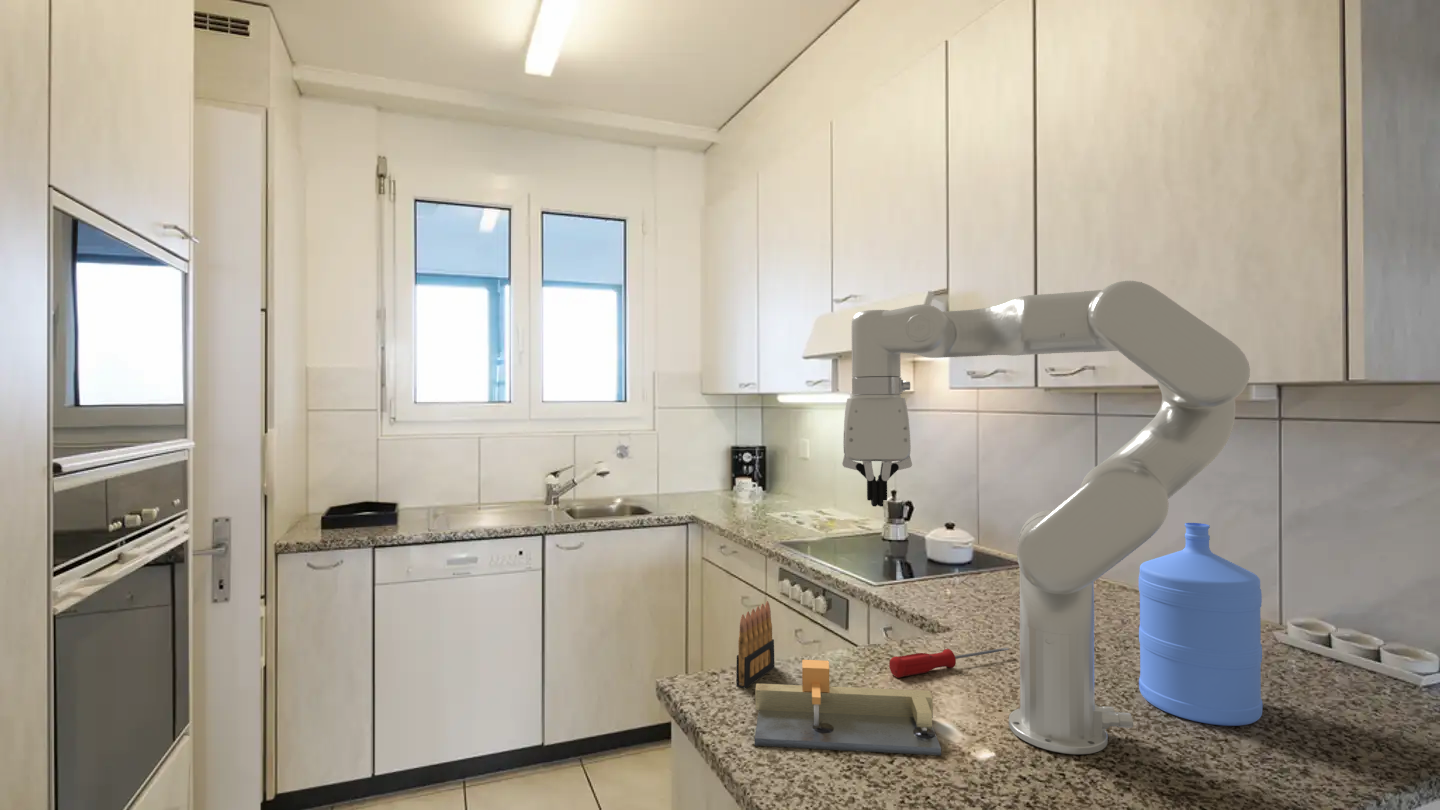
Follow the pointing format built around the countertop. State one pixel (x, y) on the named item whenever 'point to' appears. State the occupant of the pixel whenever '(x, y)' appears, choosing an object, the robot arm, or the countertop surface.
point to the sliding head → (815, 682)
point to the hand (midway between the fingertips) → (877, 505)
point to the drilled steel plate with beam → (846, 719)
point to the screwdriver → (927, 662)
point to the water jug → (1200, 635)
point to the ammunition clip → (755, 646)
